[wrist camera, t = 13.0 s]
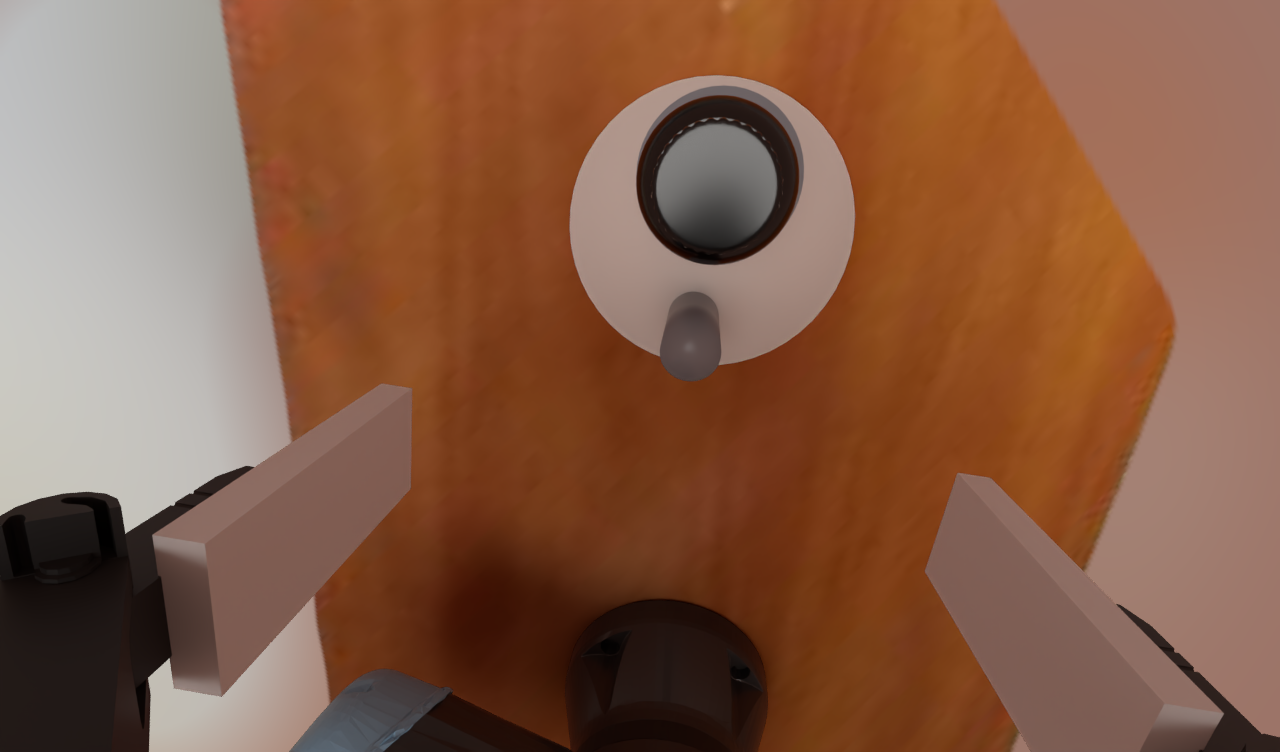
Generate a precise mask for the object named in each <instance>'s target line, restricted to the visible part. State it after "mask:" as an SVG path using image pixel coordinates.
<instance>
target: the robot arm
mask: <svg viewBox="0 0 1280 752" xmlns="http://www.w3.org/2000/svg"><path fill="white" fill-rule="evenodd" d="M411 433H412V388H407V387H400V386H394V385H387V384H380V385H378V386H377V387H375V388H374V389H372V390H371V391H369V392H368V393H366V394H365V395H363V396H362V397H360V398H359V399H357V400H356V401H354V402H353V403H351V404H350V405H348V406H347V407H345V408H344V409H342V410H341V411H339V412H338V413H336V414H335V415H333V416H332V417H330V418H329V419H327V420H326V421H324V422H322V423H321V424H319V425H318V426H316V427H315V428H313V429H312V430H310V431H309V432H307V433H306V434H304V435H303V436H301V437H300V438H298V439H297V440H295V441H294V442H292V443H291V444H289V445H288V446H286V447H285V448H283V449H282V450H280V451H279V452H277V453H276V454H274V455H273V456H271V457H270V458H268V459H267V460H265V461H263V462H262V463H260V464H259V465H257V466H256V467H250V466H245V467H242V468H239V469H236V470H233V471H231V472H228V473H225V474H222V475H220V476H217V477H215V478H214V479H212V480H210V481H209V482H207V483H206V484H204V485H202V486H201V487H199V488H198V489H196V490H195V491H194V493H193V494H188V495H186V496H185V497H184V498H182V499H180V500H178V501H177V502H176V503H175V505H174V506H169V507H167V508H166V509H164V510H162V511H161V512H159V513H158V514H156V515H155V516H153V517H151V518H150V519H148V520H147V521H145V522H143V523H142V524H140V525H139V526H137V527H135V528H134V529H132V530H131V531H129V532H127V533H126V534H125V530H124V524H123V517H122V511H121V506H120V504H119V501H118V499H117V498H114V497H112V496H110V495H107V494H104V493H93V492H79V493H66V494H60V495H55V496H51V497H46V498H41V499H37V500H35V501H32V502H29V503H26V504H23V505H20V506H18V507H15V508H13V509H12V510H10V511H8V512H7V513H5V514H3V515H1V516H0V752H149V728H150V696H151V695H150V688H149V683H148V677H149V676H150V675H151V674H153V673H154V672H155V671H156V670H157V669H158V668H159V667H160V666H161V665H162V664H163V663H164V662H166V661H167V660H168V659H169V658H170V664H171V671H172V678H173V684H174V688H175V689H181V690H187V691H192V692H198V693H203V694H209V695H215V696H221V697H222V696H223V695H224V694H225V693H226V691H227V690H228V689H229V688H230V687H231V686H232V685H233V684H234V683H235V682H236V680H237V679H238V678H239V677H240V676H241V675H242V674H243V673H244V672H245V671H246V669H247V668H248V667H249V666H250V665H251V664H252V663H253V662H254V661H255V660H256V658H257V657H258V656H259V655H260V654H261V653H262V652H263V651H264V650H265V649H266V647H267V646H268V645H269V644H270V642H272V641H273V640H274V638H276V636H277V635H278V634H279V633H280V632H281V631H282V630H283V629H284V628H285V626H286V625H287V624H288V623H289V622H290V621H291V620H292V619H293V618H294V617H295V616H296V614H297V613H298V612H299V611H300V610H301V609H302V608H303V606H305V604H306V603H307V602H308V601H309V600H310V599H311V598H312V597H313V596H314V595H315V593H316V592H317V591H318V590H319V589H320V588H321V587H322V586H323V585H324V584H325V582H326V581H327V580H328V579H329V578H330V577H331V576H332V575H333V574H334V573H335V571H336V570H337V569H338V568H339V567H340V566H341V565H342V564H343V563H344V562H345V560H346V559H347V558H348V557H349V556H350V555H351V554H352V553H353V552H354V551H355V549H356V548H357V547H358V546H359V545H360V544H361V543H362V542H363V541H364V540H365V538H366V537H367V536H368V535H369V534H370V533H371V532H372V531H373V530H374V528H375V527H376V526H377V525H378V524H379V523H380V522H381V521H382V520H383V519H384V517H385V516H386V515H387V514H388V513H389V512H390V511H391V510H392V509H393V508H394V506H395V505H396V504H397V503H398V502H399V501H400V500H401V499H402V498H403V497H404V495H405V494H406V493H407V492H408V491H409V490H410V489H411ZM925 573H926V574H927V576H928V578H929V579H930V581H931V583H932V584H933V586H934V588H935V590H936V591H937V593H938V595H939V596H940V598H941V600H942V601H943V603H944V605H945V606H946V608H947V610H948V612H949V613H950V615H951V617H952V618H953V620H954V622H955V623H956V625H957V627H958V629H959V630H960V632H961V634H962V635H963V637H964V639H965V640H966V642H967V644H968V646H969V647H970V649H971V651H972V652H973V654H974V656H975V657H976V659H977V661H978V663H979V664H980V666H981V668H982V669H983V671H984V673H985V674H986V676H987V678H988V680H989V681H990V683H991V685H992V686H993V688H994V690H995V691H996V693H997V695H998V696H999V698H1000V700H1001V702H1002V703H1003V705H1004V707H1005V708H1006V710H1007V712H1008V713H1009V715H1010V717H1011V719H1012V720H1013V722H1014V724H1015V725H1016V727H1017V729H1018V730H1019V732H1020V734H1021V736H1022V737H1023V739H1024V741H1025V742H1026V744H1027V746H1028V747H1029V749H1030V751H1031V752H1280V737H1276V736H1271V735H1267V734H1261V733H1260V732H1259V731H1258V730H1257V729H1256V728H1255V727H1254V726H1253V725H1252V724H1251V723H1250V722H1249V721H1248V720H1247V719H1246V718H1245V717H1244V716H1243V715H1242V714H1241V713H1240V712H1239V711H1238V710H1236V709H1235V708H1234V707H1233V706H1232V705H1231V704H1230V703H1229V702H1228V701H1227V700H1226V699H1225V698H1224V697H1223V696H1222V695H1221V694H1220V693H1219V692H1218V691H1217V690H1216V689H1215V688H1214V687H1213V686H1212V685H1211V684H1210V683H1209V682H1208V681H1207V680H1206V679H1205V678H1204V677H1203V676H1202V675H1201V674H1200V673H1198V672H1194V670H1193V668H1194V667H1193V666H1191V665H1190V663H1188V662H1187V661H1186V660H1185V659H1184V658H1183V657H1182V656H1181V655H1180V654H1179V653H1175V652H1174V648H1173V647H1172V646H1171V645H1170V644H1169V643H1168V642H1167V641H1166V640H1165V639H1164V638H1163V637H1162V636H1161V635H1160V634H1159V633H1158V632H1157V631H1156V630H1155V629H1154V628H1153V627H1152V626H1150V625H1149V624H1148V623H1146V622H1145V621H1143V620H1142V619H1140V618H1139V617H1137V616H1136V615H1134V614H1133V613H1131V612H1130V611H1128V610H1127V609H1125V608H1124V607H1122V606H1121V605H1118V604H1115V603H1114V602H1113V601H1112V600H1111V599H1110V598H1109V597H1108V596H1107V595H1106V594H1105V593H1104V592H1103V591H1102V590H1101V589H1100V588H1099V587H1098V586H1097V585H1096V584H1095V583H1094V582H1093V581H1092V580H1091V579H1090V578H1089V577H1088V576H1087V575H1086V574H1085V573H1084V572H1083V571H1082V570H1081V569H1080V568H1079V567H1078V566H1077V565H1076V564H1075V563H1074V562H1073V561H1072V560H1071V559H1070V558H1069V557H1068V556H1067V555H1066V554H1065V553H1064V551H1063V550H1062V549H1061V548H1060V547H1059V546H1058V545H1057V544H1056V543H1055V542H1054V541H1053V540H1052V539H1051V538H1050V537H1049V536H1048V535H1047V534H1046V533H1045V532H1044V531H1043V530H1042V529H1041V528H1040V527H1039V526H1038V525H1037V524H1036V523H1035V522H1034V521H1033V520H1032V519H1031V518H1030V517H1029V516H1028V515H1027V514H1026V513H1025V512H1024V511H1023V510H1022V509H1021V508H1020V507H1019V506H1018V505H1017V504H1016V503H1015V502H1014V501H1013V500H1012V499H1011V498H1010V497H1009V496H1008V495H1007V494H1006V493H1005V492H1004V491H1003V490H1002V489H1001V488H1000V487H999V486H998V485H997V484H996V483H995V482H994V481H993V480H992V479H991V478H988V477H982V476H975V475H969V474H962V473H957V476H956V479H955V482H954V485H953V488H952V491H951V494H950V497H949V500H948V503H947V506H946V509H945V512H944V515H943V518H942V521H941V524H940V527H939V530H938V533H937V536H936V539H935V542H934V545H933V548H932V551H931V554H930V557H929V560H928V563H927V566H926V569H925ZM452 693H453V689H451V688H449V687H443V688H439V687H436V686H434V685H431V684H429V683H426V682H424V681H421V680H419V679H416V678H414V677H411V676H409V675H406V674H404V673H401V672H399V671H396V670H392V669H378V670H374V671H371V672H368V673H366V674H364V675H362V676H361V677H359V678H358V679H356V680H355V681H353V682H352V683H351V684H350V685H349V686H347V687H346V688H345V689H344V690H343V691H342V692H341V693H340V694H339V695H338V696H337V697H336V698H335V699H334V700H333V701H332V702H331V703H330V704H329V706H328V707H327V708H326V709H325V710H324V711H323V712H322V713H321V715H320V716H319V717H318V718H317V719H316V720H315V721H314V723H313V724H312V725H311V726H310V727H309V729H308V730H307V731H306V732H305V733H304V735H303V736H302V737H301V738H300V739H299V740H298V742H297V743H296V744H295V745H294V746H293V748H292V749H291V750H290V751H289V752H758V748H759V744H760V741H761V737H762V733H763V730H764V726H765V722H766V718H767V710H768V696H767V687H766V677H765V671H764V667H763V664H762V661H761V658H760V656H759V654H758V652H757V650H756V649H755V647H754V646H753V644H752V643H751V642H750V640H749V639H748V638H747V637H746V636H745V635H744V634H743V633H742V632H741V631H740V630H739V629H738V628H737V627H736V626H734V625H733V624H732V623H730V622H729V621H727V620H726V619H724V618H723V617H721V616H719V615H717V614H715V613H713V612H711V611H709V610H706V609H704V608H701V607H698V606H695V605H691V604H687V603H682V602H676V601H663V600H655V601H643V602H637V603H632V604H628V605H625V606H622V607H619V608H616V609H614V610H612V611H610V612H608V613H606V614H604V615H603V616H601V617H599V618H598V619H597V620H595V621H594V622H593V623H592V624H591V625H590V626H589V627H588V628H587V629H586V630H585V631H584V632H583V634H582V635H581V636H580V638H579V639H578V641H577V643H576V645H575V648H574V650H573V653H572V657H571V661H570V664H569V668H568V672H567V676H566V684H565V700H566V709H567V718H568V727H569V736H570V745H571V750H569V749H568V748H566V747H564V746H561V745H559V744H557V743H555V742H553V741H551V740H548V739H546V738H544V737H542V736H540V735H537V734H535V733H533V732H531V731H529V730H527V729H524V728H522V727H520V726H518V725H516V724H513V723H511V722H509V721H507V720H505V719H503V718H500V717H498V716H496V715H494V714H492V713H490V712H488V711H486V710H484V709H482V708H479V707H477V706H475V705H473V704H471V703H469V702H467V701H465V700H463V699H461V698H459V697H457V696H455V695H453V694H452Z"/></svg>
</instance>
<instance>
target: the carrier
mask: <svg viewBox="0 0 1280 752" xmlns="http://www.w3.org/2000/svg"><path fill="white" fill-rule="evenodd" d="M713 95H729V96H736V97H740V98H744V99H747V100H749V101H752V102H754V103H756V104H758V105H760V106H761V107H763V108H764V109H766V110H767V111H768V112H770V113H771V114H772V115H773V116H774V117H775V118H776V119H777V120H778V121H779V122H780V123H781V124H782V126H783V127H784V128H785V130H786V131H787V133H788V135H789V137H790V139H791V140H792V143H793V145H794V148H795V151H796V154H797V158H798V164H799V173H800V176H799V191H798V196H797V200H796V203H795V207H794V209H793V212H792V214H791V216H790V218H789V220H788V222H787V223H786V225H785V227H784V228H783V230H782V231H781V232H780V233H779V235H778V236H777V237H776V238H775V239H774V240H773V241H772V242H771V243H770V244H769V245H768V246H766V247H765V248H764V249H762V250H761V251H760V252H758V253H756V254H755V255H753V256H751V257H749V258H747V259H744V260H741V261H739V262H735V263H731V264H725V265H705V264H699V263H695V262H691V261H688V260H685V259H683V258H681V257H679V256H677V255H676V254H674V253H672V252H671V251H669V250H668V249H667V248H665V247H664V246H663V245H662V244H661V243H660V242H659V241H658V240H657V239H656V238H655V236H654V235H653V234H652V232H651V231H650V230H649V228H648V226H647V225H646V223H645V221H644V219H643V216H642V214H641V211H640V208H639V204H638V199H637V193H636V174H637V167H638V162H639V159H640V155H641V152H642V150H643V148H644V145H645V143H646V141H647V139H648V138H649V136H650V135H651V133H652V131H653V130H654V129H655V128H656V126H657V125H658V124H659V123H660V122H661V121H662V120H663V119H664V118H665V117H666V116H667V115H668V114H669V113H671V112H672V111H673V110H675V109H676V108H678V107H680V106H681V105H683V104H685V103H687V102H690V101H692V100H695V99H698V98H701V97H706V96H713ZM854 224H855V209H854V196H853V191H852V186H851V181H850V177H849V174H848V171H847V168H846V165H845V163H844V160H843V157H842V156H841V154H840V152H839V150H838V148H837V146H836V144H835V142H834V140H833V139H832V138H831V136H830V135H829V133H828V132H827V131H826V129H825V128H824V126H823V125H822V124H821V123H820V122H819V121H818V120H817V119H816V118H815V117H814V116H813V115H812V114H811V113H810V111H809V110H807V109H806V108H805V107H803V106H802V105H801V104H800V103H798V102H797V101H796V100H794V99H793V98H791V97H790V96H788V95H786V94H784V93H783V92H781V91H779V90H777V89H776V88H773V87H770V86H768V85H765V84H763V83H760V82H757V81H754V80H749V79H745V78H740V77H734V76H720V75H713V76H698V77H692V78H688V79H683V80H678V81H675V82H672V83H670V84H667V85H664V86H661V87H659V88H657V89H655V90H653V91H651V92H649V93H647V94H645V95H643V96H642V97H640V98H638V99H637V100H636V101H634V102H633V103H631V104H630V105H629V106H627V107H626V108H625V109H623V110H622V111H621V112H620V113H619V114H618V115H617V116H616V117H615V118H614V119H613V120H612V121H611V122H610V123H609V124H608V125H607V126H606V128H605V129H604V130H603V131H602V133H601V134H600V135H599V136H598V137H597V139H596V141H595V142H594V144H593V145H592V147H591V149H590V150H589V152H588V154H587V155H586V158H585V160H584V162H583V164H582V167H581V169H580V171H579V174H578V177H577V180H576V184H575V187H574V190H573V196H572V202H571V208H570V239H571V248H572V252H573V257H574V262H575V265H576V268H577V271H578V274H579V277H580V280H581V282H582V284H583V286H584V288H585V290H586V292H587V294H588V296H589V298H590V299H591V301H592V302H593V304H594V305H595V307H596V308H597V310H598V311H599V312H600V314H601V315H602V316H603V317H604V318H605V319H606V320H607V322H608V323H609V324H610V325H611V326H612V327H613V328H615V329H616V330H617V331H618V332H619V333H620V334H621V335H622V336H624V337H625V338H627V339H628V340H629V341H631V342H632V343H634V344H635V345H637V346H638V347H640V348H642V349H644V350H646V351H648V352H650V353H652V354H655V355H657V356H660V358H661V362H662V364H663V366H664V367H665V369H666V370H667V371H668V372H669V373H670V374H671V375H672V376H674V377H676V378H678V379H680V380H684V381H698V380H701V379H704V378H706V377H707V376H709V375H710V374H712V373H713V372H714V370H715V369H716V368H717V366H718V365H723V364H730V363H737V362H741V361H744V360H748V359H752V358H755V357H757V356H760V355H762V354H765V353H767V352H770V351H772V350H773V349H775V348H777V347H779V346H781V345H782V344H784V343H786V342H787V341H789V340H790V339H791V338H793V337H794V336H796V335H797V334H798V333H800V332H801V331H802V330H803V329H804V328H805V327H806V326H807V325H808V324H809V323H811V322H812V321H813V320H814V319H815V317H816V316H817V315H818V314H819V313H820V311H821V310H822V309H823V308H824V307H825V305H826V304H827V302H828V301H829V299H830V298H831V296H832V295H833V293H834V292H835V290H836V288H837V286H838V284H839V282H840V280H841V278H842V276H843V274H844V271H845V268H846V265H847V262H848V259H849V256H850V252H851V247H852V242H853V237H854Z"/></svg>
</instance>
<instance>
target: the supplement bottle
mask: <svg viewBox="0 0 1280 752" xmlns="http://www.w3.org/2000/svg"><path fill="white" fill-rule="evenodd" d="M799 176H800V173H799V164H798V158H797V154H796V151H795V148H794V145H793V143H792V140H791V139H790V137H789V135H788V133H787V131H786V130H785V128H784V127H783V126H782V124H781V123H780V122H779V121H778V120H777V119H776V118H775V117H774V116H773V115H772V114H771V113H770V112H768V111H767V110H766V109H764V108H763V107H761V106H760V105H758V104H756V103H754V102H752V101H749V100H747V99H744V98H740V97H736V96H729V95H713V96H706V97H701V98H698V99H695V100H692V101H690V102H687V103H685V104H683V105H681V106H680V107H678V108H676V109H675V110H673V111H672V112H671V113H669V114H668V115H667V116H666V117H665V118H664V119H663V120H662V121H661V122H660V123H659V124H658V125H657V126H656V128H655V129H654V130H653V131H652V133H651V135H650V136H649V138H648V139H647V141H646V143H645V145H644V148H643V150H642V152H641V155H640V159H639V162H638V167H637V174H636V193H637V199H638V204H639V208H640V211H641V214H642V216H643V219H644V221H645V223H646V225H647V226H648V228H649V230H650V231H651V232H652V234H653V235H654V236H655V238H656V239H657V240H658V241H659V242H660V243H661V244H662V245H663V246H664V247H665V248H667V249H668V250H669V251H671V252H672V253H674V254H676V255H677V256H679V257H681V258H683V259H685V260H688V261H691V262H695V263H699V264H705V265H725V264H731V263H735V262H739V261H741V260H744V259H747V258H749V257H751V256H753V255H755V254H756V253H758V252H760V251H761V250H762V249H764V248H765V247H766V246H768V245H769V244H770V243H771V242H772V241H773V240H774V239H775V238H776V237H777V236H778V235H779V233H780V232H781V231H782V230H783V228H784V227H785V225H786V223H787V222H788V220H789V218H790V216H791V214H792V212H793V209H794V207H795V203H796V200H797V196H798V191H799Z"/></svg>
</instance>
